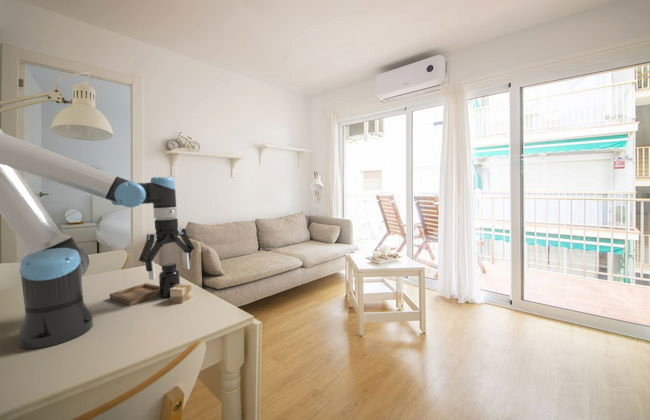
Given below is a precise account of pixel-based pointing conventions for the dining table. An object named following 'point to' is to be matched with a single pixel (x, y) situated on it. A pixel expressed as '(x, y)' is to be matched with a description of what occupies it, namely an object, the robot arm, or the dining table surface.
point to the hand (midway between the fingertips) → (170, 273)
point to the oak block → (181, 293)
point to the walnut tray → (136, 294)
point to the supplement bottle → (168, 279)
